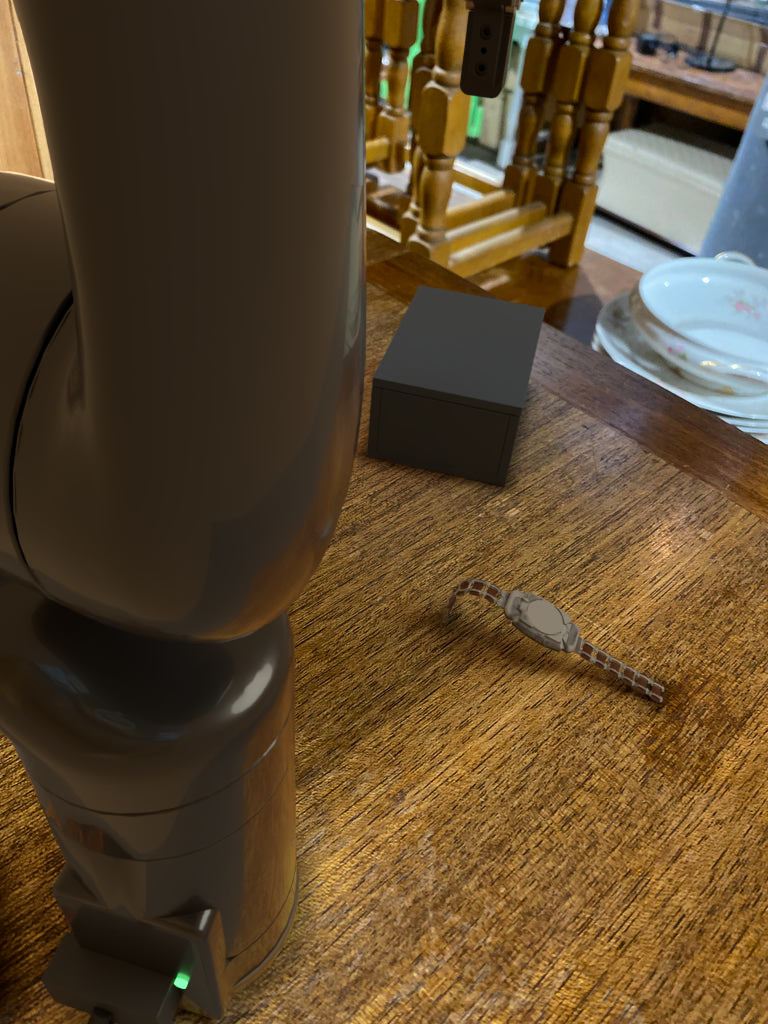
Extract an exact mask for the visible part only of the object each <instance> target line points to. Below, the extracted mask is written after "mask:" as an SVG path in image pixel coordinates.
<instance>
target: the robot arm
mask: <svg viewBox="0 0 768 1024" xmlns="http://www.w3.org/2000/svg"><path fill="white" fill-rule="evenodd" d="M11 1H12V4H13V8H14V11H15V14H16V18H17V22H18V25H19V29H20V32H21V36H22V39H23V43H24V46H25V51H26V55H27V60H28V63H29V68H30V73H31V77H32V82H33V86H34V90H35V94H36V99H37V104H38V108H39V113H40V117H41V121H42V125H43V130H44V135H45V140H46V145H47V146H46V147H47V150H48V156H49V161H50V166H51V172H52V178H53V180H51V179H47V178H43V177H39V176H34V175H31V174H25V173H21V172H17V171H7V170H0V732H1V734H2V735H3V736H4V737H6V738H7V739H8V740H9V741H10V742H11V744H12V745H13V748H14V750H15V753H16V755H17V756H18V758H19V760H20V762H21V765H22V766H23V769H24V771H25V773H26V775H27V778H28V781H29V782H30V784H31V787H32V789H33V791H34V793H35V796H36V799H37V801H38V803H39V805H40V807H41V810H42V812H43V814H44V816H45V819H46V821H47V824H48V825H49V828H50V830H51V832H52V834H53V836H54V839H55V841H56V843H57V846H58V847H59V850H60V852H61V855H62V857H63V859H64V861H65V863H64V865H63V867H62V869H61V871H60V872H59V874H58V876H57V878H56V879H55V881H54V883H53V884H52V888H51V892H52V896H53V897H54V899H55V901H56V904H57V905H58V907H59V909H60V911H61V913H62V915H63V917H64V920H65V921H66V923H67V925H68V927H69V928H70V931H71V932H70V931H66V932H65V933H64V935H63V937H62V939H61V941H60V942H59V944H58V946H57V948H56V950H55V952H54V954H53V956H52V957H51V959H50V961H49V963H48V965H47V967H46V969H45V970H44V972H43V974H42V976H41V978H40V982H41V983H42V985H43V986H44V988H45V989H46V991H47V992H48V994H49V995H50V997H51V998H52V1000H53V1002H54V1003H57V1004H60V1005H63V1006H67V1007H69V1008H72V1009H74V1010H77V1011H80V1012H84V1013H85V1014H90V1016H89V1019H88V1021H87V1024H172V1022H173V1020H174V1018H175V1015H176V1013H177V1011H178V1008H179V1009H182V1010H185V1011H187V1012H190V1013H193V1014H196V1015H199V1016H202V1017H206V1018H208V1019H212V1020H215V1021H221V1020H222V1019H224V1018H225V1016H226V1014H227V1011H228V1008H229V1006H230V1003H231V1001H232V999H233V997H234V996H235V994H237V993H239V992H240V991H242V990H244V989H245V988H246V987H248V986H250V985H251V984H252V983H253V982H255V981H256V980H257V979H258V978H259V977H261V975H263V973H264V972H266V970H267V969H268V968H269V967H270V966H271V965H272V964H273V962H274V961H275V960H276V958H277V957H278V956H279V954H280V953H281V951H282V949H283V948H284V946H285V945H286V943H287V940H288V938H289V937H290V935H291V932H292V929H293V927H294V924H295V920H296V917H297V912H298V907H299V899H300V885H299V884H300V876H299V867H298V861H297V859H298V858H297V857H298V856H297V794H296V792H297V791H296V790H297V789H296V785H297V781H296V780H297V779H296V648H295V638H294V631H293V625H292V623H291V622H292V621H291V619H290V615H289V613H288V609H289V607H290V606H292V604H293V603H295V601H296V600H297V599H298V598H299V596H300V595H301V594H302V592H303V591H304V590H305V588H306V587H307V585H308V583H309V582H310V580H311V578H312V577H313V576H314V574H315V573H316V572H317V570H318V568H319V567H320V565H321V563H322V561H323V558H324V556H325V555H326V552H327V550H328V548H329V546H330V543H331V542H332V540H333V537H334V535H335V533H336V529H337V528H338V527H337V526H338V523H339V520H340V517H341V514H342V511H343V508H344V505H345V501H346V498H347V494H348V491H349V488H350V484H351V480H352V475H353V469H354V464H355V461H356V460H355V459H356V455H357V449H358V443H359V437H360V429H361V422H362V421H361V420H362V411H363V402H364V401H363V400H364V391H365V377H366V375H365V373H366V362H367V297H368V296H367V292H368V291H367V290H368V288H367V287H368V283H367V281H368V279H367V276H368V274H367V273H368V272H367V260H368V259H367V130H366V128H367V123H366V121H367V119H366V117H367V116H366V115H367V114H366V110H367V109H366V106H367V105H366V0H11ZM524 1H525V0H463V2H465V3H464V5H465V6H464V7H465V10H466V11H467V10H468V13H467V21H466V30H465V38H464V45H463V53H462V54H463V55H462V63H461V71H460V80H459V89H460V91H461V92H462V93H463V94H464V95H466V96H471V97H478V98H485V99H490V100H491V99H496V98H497V97H499V96H500V94H501V92H503V89H504V88H505V86H506V80H507V74H508V68H509V62H510V55H511V50H512V43H513V36H514V32H515V31H514V30H515V23H516V19H517V18H516V17H517V11H520V10H521V9H520V8H521V5H522V3H524Z"/></svg>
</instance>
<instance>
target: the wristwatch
mask: <svg viewBox="0 0 768 1024" xmlns="http://www.w3.org/2000/svg"><path fill="white" fill-rule="evenodd" d="M471 585H472V586H471ZM483 588H484V589H483ZM486 588H487V590H486ZM467 593H468V595H470V596H474V597H480V596H483V599H485V601H487V602H489V603H491V604H496V605H497V607H499V608H501V609H502V611H503V615H504V617H505V618H506V619H507V620H510V621H511V625H512V626H513V627H514V628H515V629H516V630H518V632H520V633H521V634H522V635H524V636H525V637H527V638H528V639H529V640H531V641H533V642H534V643H536V644H537V645H540V646H542V647H544V648H545V649H549V650H551V651H554V652H557V653H560V652H561V651H562V652H563V653H565V654H571V653H575V654H577V655H579V656H580V658H581V659H583V660H585V661H587V662H592V663H593V665H594V666H595V667H596V668H598V669H600V670H606V671H607V673H608V674H609V676H611V677H614V678H616V679H617V678H619V679H620V680H621V682H622V683H623V684H625V685H627V686H628V687H634V688H635V690H636V691H637V692H638V693H640V694H642V695H647V696H649V699H651V700H652V701H654V702H656V703H658V704H659V703H663V700H664V699H663V697H662V695H661V693H664V692H665V687H664V686H663V685H662V684H661V683H659V682H657V681H655V680H651V678H650V677H648V676H647V675H646V674H645V673H642V672H641V671H637V670H636V669H635V668H633V666H630V665H628V664H627V663H623V661H622V660H620V659H619V658H617V657H616V656H613V655H610V654H609V653H608V652H607V651H605V650H603V649H602V648H599V647H596V645H595V644H593V643H591V642H590V641H588V640H586V639H584V637H582V636H580V633H581V630H580V627H579V626H578V625H577V623H574V622H572V621H571V620H572V617H571V616H570V615H569V613H567V612H566V611H564V610H562V609H561V608H559V607H558V606H557V605H555V604H553V603H552V602H551V601H549V600H547V599H545V598H543V597H541V596H539V595H537V594H536V593H534V592H530V591H527V590H524V592H522V591H521V590H519V589H514V590H511V592H508V591H506V590H502V589H501V587H498V586H497V585H496V584H494V583H492V582H488V581H486V580H484V579H477V578H473V579H471V578H469V579H466V580H465V579H464V580H462V581H460V583H458V584H457V585H455V586H454V587H453V588H452V593H451V595H450V596H449V597H448V600H447V604H446V609H447V612H446V614H445V615H444V616H443V620H442V623H443V624H446V623H447V622H448V621H449V619H450V617H451V614H452V613H453V611H454V608H455V606H456V602H457V599H458V598H457V597H462V596H464V595H465V594H467ZM498 594H499V595H500V596H501V597H500V599H498V598H497V595H498ZM592 652H593V654H592ZM620 668H621V670H620ZM634 676H635V678H634ZM647 686H648V687H647ZM650 689H651V690H650Z"/></svg>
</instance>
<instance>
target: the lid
mask: <svg viewBox="0 0 768 1024" xmlns="http://www.w3.org/2000/svg"><path fill="white" fill-rule="evenodd" d="M545 313H546V307H540V306H536V305H535V306H534V305H529V304H523V303H520V302H519V303H518V302H513V301H507V300H502V299H498V298H496V299H495V298H492V297H487V296H480V295H476V294H475V295H474V294H469V293H465V292H459V291H455V290H447V289H442V288H437V287H433V286H432V287H431V286H425V285H419V286H418V288H417V290H416V291H415V294H414V296H413V298H412V299H411V301H410V303H409V306H408V307H407V309H406V311H405V313H404V315H403V317H402V319H401V321H400V323H399V325H398V326H397V329H396V331H395V333H394V334H393V337H392V339H391V340H390V342H389V344H388V347H387V348H386V350H385V352H384V354H383V356H382V358H381V360H380V362H379V364H378V365H377V368H376V370H375V372H374V374H373V376H372V378H371V379H372V380H371V387H372V386H375V387H380V388H385V389H389V390H394V391H399V392H404V393H409V394H414V395H419V396H424V397H429V398H433V399H438V400H443V401H448V402H453V403H458V404H463V405H468V406H473V407H477V408H482V409H487V410H492V411H497V412H502V413H507V414H512V415H517V416H521V417H522V413H523V409H524V405H525V402H526V401H525V400H526V396H527V392H528V387H529V384H530V380H531V374H532V371H533V365H534V361H535V356H536V354H537V353H536V352H537V348H538V344H539V339H540V335H541V330H542V326H543V322H544V317H545ZM528 383H529V384H528Z"/></svg>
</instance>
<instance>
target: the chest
mask: <svg viewBox="0 0 768 1024" xmlns="http://www.w3.org/2000/svg"><path fill="white" fill-rule="evenodd" d="M529 384H530V382H529V383H528V385H529ZM370 393H371V394H370V406H369V407H370V408H369V420H368V432H367V433H368V435H367V449H366V457H368V458H372V459H377V460H381V461H385V462H391V463H395V464H399V465H404V466H410V467H413V468H418V469H423V470H426V471H427V470H428V471H432V472H436V473H441V474H446V475H450V476H455V477H459V478H464V479H467V480H473V481H477V482H481V483H487V484H492V485H496V486H500V487H506V484H507V480H508V476H509V471H510V467H511V462H512V458H513V454H514V450H515V445H516V440H517V436H518V431H519V427H520V423H521V418H522V415H521V416H517V415H512V414H507V413H502V412H497V411H492V410H487V409H482V408H477V407H473V406H468V405H463V404H458V403H453V402H448V401H443V400H438V399H433V398H429V397H424V396H419V395H414V394H409V393H404V392H399V391H394V390H389V389H385V388H380V387H375V386H372V385H371V391H370Z"/></svg>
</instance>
